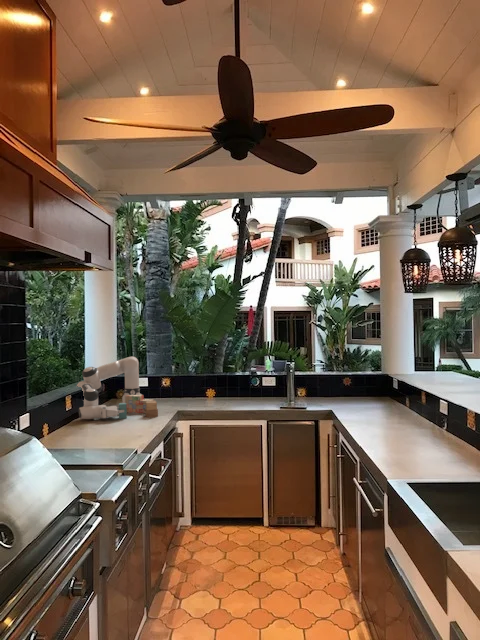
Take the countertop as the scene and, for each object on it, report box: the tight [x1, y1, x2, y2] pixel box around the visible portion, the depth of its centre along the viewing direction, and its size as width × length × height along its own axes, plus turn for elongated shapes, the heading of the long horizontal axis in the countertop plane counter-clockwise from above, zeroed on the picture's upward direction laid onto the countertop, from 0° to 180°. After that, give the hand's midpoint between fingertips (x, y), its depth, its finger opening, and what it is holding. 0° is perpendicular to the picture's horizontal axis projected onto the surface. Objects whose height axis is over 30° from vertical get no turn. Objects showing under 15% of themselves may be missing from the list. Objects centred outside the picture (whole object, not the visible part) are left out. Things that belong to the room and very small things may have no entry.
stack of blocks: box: [125, 394, 155, 414], centre depth 358 cm, size 21×6×12 cm, turn 70°
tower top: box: [146, 400, 158, 410], centre depth 342 cm, size 7×7×5 cm
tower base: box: [144, 408, 159, 418], centre depth 342 cm, size 8×8×5 cm
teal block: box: [118, 402, 128, 420], centre depth 336 cm, size 5×5×10 cm
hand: (124, 409), depth 336 cm, fingers open, 6 cm apart
